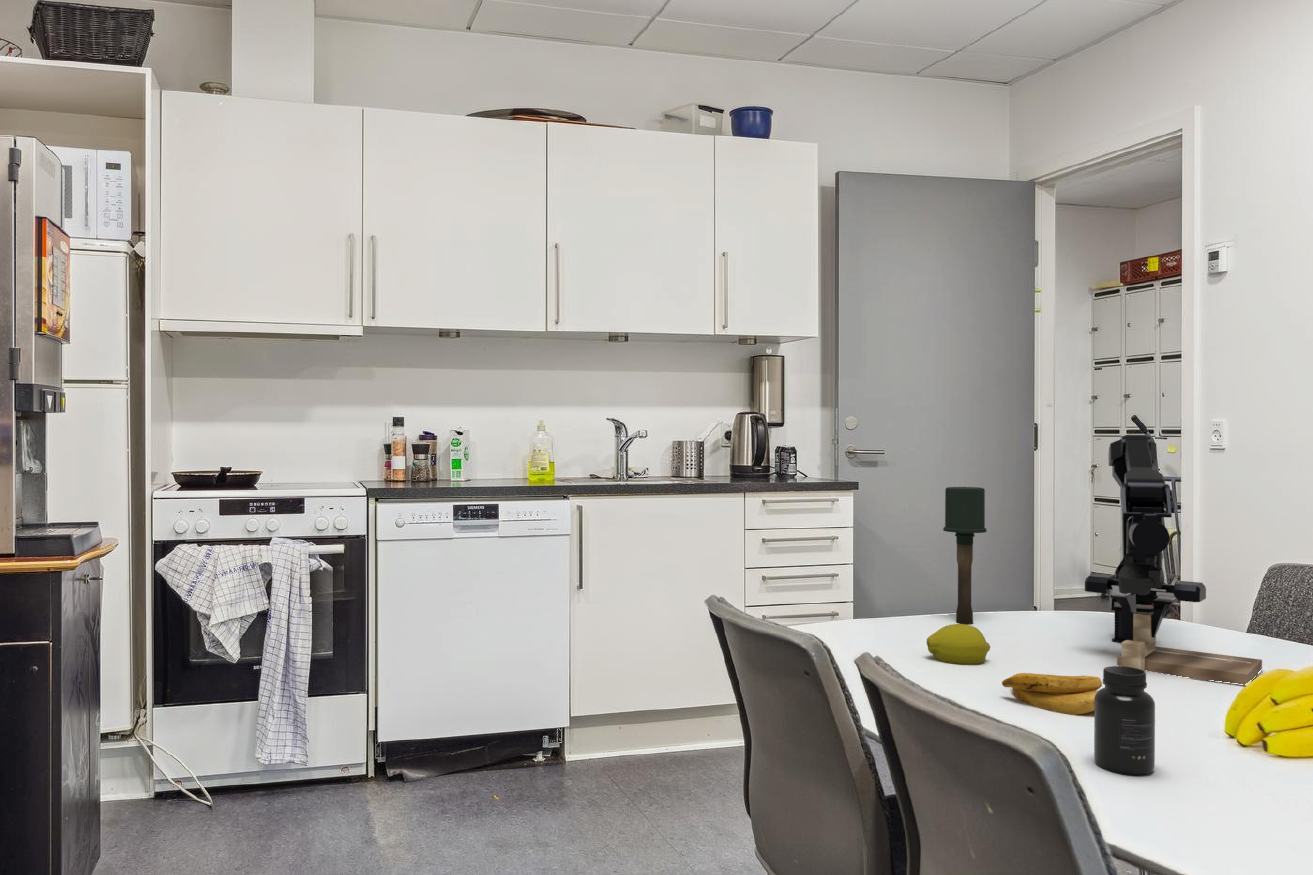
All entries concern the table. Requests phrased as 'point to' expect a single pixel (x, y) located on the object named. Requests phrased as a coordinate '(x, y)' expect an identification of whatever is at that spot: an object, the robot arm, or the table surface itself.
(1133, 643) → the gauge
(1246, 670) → the board
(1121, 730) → the supplement bottle
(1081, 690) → the banana
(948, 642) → the lemon
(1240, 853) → the table surface
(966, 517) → the potato masher grenade
